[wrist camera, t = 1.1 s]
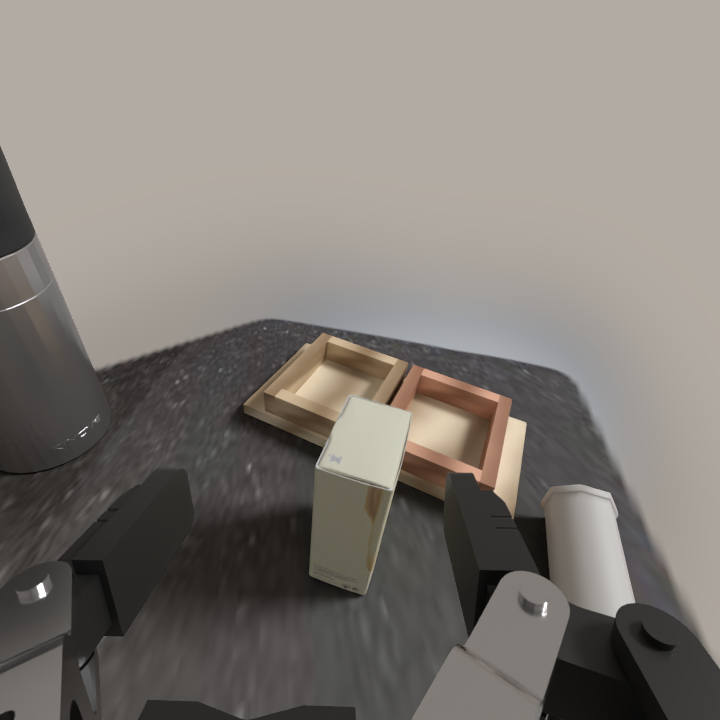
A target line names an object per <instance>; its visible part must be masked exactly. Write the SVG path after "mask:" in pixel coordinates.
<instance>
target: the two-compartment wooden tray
mask: <svg viewBox="0 0 720 720" xmlns="http://www.w3.org/2000/svg"><path fill="white" fill-rule="evenodd" d="M407 366H408V363H407V362H404V361H401V360H399V359H396V358H393V357H390V356H387V355H384V354H381V353H379V352H376V351H373V350H370V349H367V348H364V347H361V346H359V345H356V344H353V343H350V342H347V341H344V340H341V339H339V338H336V337H333V336H330V335H327V334H324V333H322V334H321V335H320V336H319V337H318V338H317V339H316V340H315V341H314V342H313V343H312V344H308V343H306V344H305V345H304V346H303V347H302V348H301V349H300V350H299V351H298V352H297V353H296V354H295V355H294V356H293V357H292V358H291V359H290V360H288V361H287V362H286V363H285V364H284V365H283V366H282V367H281V368H280V369H279V370H278V371H277V372H276V373H275V374H274V375H273V376H272V377H271V378H270V379H269V380H268V381H267V382H266V383H265V384H264V385H263V386H262V387H261V388H260V389H259V390H258V391H256V392H255V393H254V394H253V395H252V396H251V397H250V398H249V399H248V400H247V401H246V402H245V403H244V404H243V405H244V413H246V414H248V415H251V416H253V417H255V418H257V419H260V420H262V421H264V422H266V423H269V424H271V425H273V426H276V427H278V428H280V429H282V430H285V431H287V432H289V433H291V434H294V435H296V436H298V437H300V438H303V439H305V440H307V441H310V442H312V443H314V444H316V445H319V446H321V447H323V448H324V446H325V444H326V442H327V440H328V438H329V435H330V433H331V431H332V429H333V427H334V425H335V422H336V420H337V418H338V416H339V414H340V412H341V410H342V408H343V406H344V404H345V402H346V400H347V398H348V396H350V395H355V396H359V397H362V398H365V399H369V400H372V401H376V402H379V403H382V404H386V405H389V406H392V407H396V408H399V409H402V410H406V411H409V412H412V420H411V425H410V430H409V435H408V440H407V445H406V449H405V454H404V458H403V462H402V466H401V469H400V473H399V476H398V481H400V482H403V483H405V484H407V485H409V486H412V487H414V488H416V489H418V490H421V491H423V492H425V493H427V494H430V495H432V496H434V497H437V498H439V499H441V500H443V501H444V500H445V485H446V475H447V473H448V472H454V473H473V474H474V476H475V478H476V481H477V483H478V486H479V488H480V490H492V491H493V492H494V493H495V494H497V495H498V496H499V497H500V498H501V499H502V500H503V501H504V502H505V503H506V505H507V507H508V509H509V511H510V513H511V515H512V519H514V513H515V506H516V498H517V491H518V483H519V476H520V469H521V461H522V454H523V446H524V439H525V431H526V424H527V423H525V422H522V421H520V420H517V419H514V418H511V417H509V413H510V407H511V402H512V399H510V398H507V397H504V396H501V395H498V394H495V393H493V392H490V391H487V390H484V389H481V388H478V387H475V386H473V385H470V384H467V383H464V382H461V381H458V380H456V379H453V378H450V377H447V376H444V375H441V374H438V373H436V372H433V371H430V370H427V369H424V368H421V367H418V366H416V365H413V367H412V368H411V370H410V372H409V374H408V376H407V377H406V379H405V375H406V371H407Z"/></svg>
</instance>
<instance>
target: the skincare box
mask: <svg viewBox="0 0 720 720" xmlns="http://www.w3.org/2000/svg"><path fill="white" fill-rule="evenodd" d="M411 420H412V412H409V411H406V410H402V409H399V408H396V407H392V406H389V405H386V404H382V403H379V402H376V401H372V400H369V399H365V398H362V397H359V396H355V395H350V396H348V398H347V400H346V402H345V404H344V406H343V408H342V410H341V412H340V414H339V416H338V418H337V420H336V422H335V425H334V427H333V429H332V431H331V433H330V435H329V438H328V440H327V442H326V444H325V446H324V448H323V451H322V453H321V455H320V457H319V459H318V461H317V463H316V466H315V478H314V495H313V513H312V531H311V549H310V565H309V575H310V576H312V577H314V578H317V579H319V580H322V581H324V582H327V583H329V584H332V585H335V586H337V587H340V588H343V589H345V590H348V591H352V592H355V593H358V594H361V595H365V594H366V592H367V589H368V586H369V582H370V579H371V576H372V572H373V569H374V565H375V561H376V558H377V554H378V550H379V546H380V543H381V539H382V535H383V531H384V528H385V524H386V520H387V517H388V513H389V509H390V505H391V502H392V498H393V494H394V491H395V487H396V484H397V480H398V476H399V473H400V469H401V466H402V462H403V458H404V454H405V449H406V445H407V440H408V435H409V430H410V425H411Z"/></svg>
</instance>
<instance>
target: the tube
mask: <svg viewBox="0 0 720 720" xmlns="http://www.w3.org/2000/svg"><path fill="white" fill-rule="evenodd" d="M541 507H542V509H543V511H544V513H545V522H546V535H547V548H548V561H549V574H550V582H552V583H553V584H554V585H555V586H557V587H558V588H559V589H560V591H561V592H562V593H563V594H564V596H565V597H566V599H567V601H568V602H570V603H572V604H574V605H576V606H579V607H581V608H584V609H588V610H591V611H594V612H598V613H601V614H604V615H608V616H611V617H614V618H615V616H616V613H617V611H618V609H619V608H620V607H621V606H623V605H625V604H630V603H635V600H634V596H633V591H632V587H631V583H630V579H629V574H628V570H627V566H626V561H625V557H624V553H623V548H622V544H621V540H620V536H619V531H618V527H617V523H616V518H617V517H618V512H617V509H616V506H615V504H614V501H613V499H612V496H611V494H610V493H609V492H605V491H602V490H598V489H595V488H591V487H588V486H584V485H581V484H578V485H567V486H556V487H551V488H550V489H549V491H548V492H547V493H546V495H545V496H544V498H543V499H542V501H541Z"/></svg>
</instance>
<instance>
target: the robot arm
mask: <svg viewBox="0 0 720 720" xmlns="http://www.w3.org/2000/svg"><path fill="white" fill-rule="evenodd" d="M111 418H112V416H111V409H110V407H109V405H108V402H107V400H106V397H105V395H104V393H103V390H102V388H101V386H100V383H99V381H98V378H97V376H96V373H95V371H94V368H93V366H92V364H91V362H90V359H89V357H88V354H87V352H86V350H85V347H84V345H83V343H82V340H81V338H80V335H79V333H78V331H77V328H76V326H75V324H74V321H73V319H72V316H71V314H70V312H69V309H68V307H67V305H66V302H65V300H64V297H63V295H62V293H61V290H60V288H59V286H58V283H57V281H56V279H55V276H54V274H53V271H52V270H51V267H50V265H49V263H48V260H47V258H46V255H45V253H44V251H43V248H42V246H41V244H40V241H39V239H38V237H37V234H36V232H35V230H34V228H33V225H32V222H31V220H30V218H29V216H28V214H27V211H26V209H25V206H24V204H23V201H22V199H21V196H20V194H19V191H18V189H17V186H16V183H15V181H14V179H13V176H12V174H11V171H10V169H9V166H8V164H7V161H6V159H5V156H4V154H3V152H2V149H1V147H0V470H2V471H6V472H11V473H29V472H37V471H41V470H46V469H50V468H53V467H56V466H58V465H61V464H64V463H66V462H68V461H70V460H72V459H74V458H76V457H78V456H80V455H81V454H83V453H84V452H86V451H87V450H89V449H90V448H91V447H92V446H93V445H95V444H96V443H97V442H98V441H99V440H100V439H101V438H102V436H103V435H104V434H105V433H106V431H107V429H108V427H109V425H110V422H111ZM193 516H194V511H193V504H192V499H191V493H190V487H189V481H188V476H187V472H186V471H185V470H184V469H173V468H158V469H156V470H155V471H154V472H153V473H152V474H151V475H150V476H149V477H148V478H147V479H146V480H145V481H144V483H143V484H142V485H137V486H135V487H134V488H132V489H131V490H129V491H127V492H126V493H124V494H123V495H121V496H120V497H119V498H118V499H117V500H116V501H115V502H114V503H113V504H112V505H111V506H110V507H109V508H108V511H105V512H104V513H103V514H102V515H101V516H100V517H99V518H98V519H97V522H94V523H93V524H92V525H91V526H90V527H89V528H88V529H87V530H86V532H85V533H84V534H83V535H82V536H81V537H80V538H79V539H78V540H77V541H76V542H75V543H74V544H73V545H72V546H71V547H70V548H69V549H68V550H67V551H66V552H65V553H64V554H63V555H62V556H61V557H60V558H59V559H58V560H57V561H52V562H46V563H42V564H39V565H36V566H34V567H31V568H29V569H27V570H25V571H23V572H22V573H20V574H18V575H17V576H15V577H14V578H12V579H11V580H10V581H8V582H7V583H6V584H5V585H4V586H3V587H2V588H1V589H0V720H102V715H101V695H100V676H99V657H98V652H97V648H96V647H97V645H98V644H99V642H100V641H101V639H102V638H103V636H124V635H125V633H126V632H127V630H128V629H129V627H130V625H131V624H132V622H133V621H134V619H135V617H136V616H137V614H138V613H139V611H140V609H141V608H142V606H143V605H144V603H145V601H146V600H147V598H148V597H149V595H150V593H151V592H152V590H153V589H154V587H155V586H156V584H157V582H158V581H159V579H160V578H161V576H162V574H163V573H164V571H165V570H166V568H167V566H168V565H169V563H170V562H171V560H172V558H173V557H174V555H175V554H176V552H177V550H178V549H179V547H180V546H181V544H182V542H183V541H184V539H185V538H186V536H187V534H188V533H189V531H190V529H191V526H192V522H193ZM443 520H444V533H445V539H446V543H447V547H448V551H449V556H450V560H451V564H452V569H453V573H454V577H455V582H456V586H457V590H458V594H459V599H460V603H461V607H462V612H463V616H464V620H465V624H466V629H467V633H468V637H469V639H468V641H467V642H466V644H465V645H464V646H463V647H462V646H461V645H459V644H458V645H456V646H455V647H454V648H453V649H452V651H451V652H450V654H449V655H448V657H447V659H446V660H445V662H444V664H443V666H442V667H441V669H440V671H439V673H438V674H437V676H436V678H435V679H434V681H433V683H432V685H431V686H430V688H429V690H428V692H427V693H426V695H425V697H424V699H423V700H422V702H421V704H420V706H419V707H418V709H417V711H416V713H415V714H414V716H413V718H412V720H547V717H548V715H551V716H553V717H556V718H558V719H561V720H720V669H719V667H718V666H717V665H716V663H715V662H714V661H713V659H712V658H711V657H710V655H709V654H708V653H707V651H706V650H705V648H704V647H703V646H702V644H701V643H700V642H699V640H698V639H697V638H696V637H695V635H694V634H693V633H692V632H691V631H690V630H689V629H688V628H687V627H686V626H685V625H683V624H682V623H681V622H680V621H678V620H677V619H676V618H674V617H673V616H671V615H669V614H668V613H666V612H664V611H662V610H660V609H657V608H655V607H652V606H649V605H645V604H639V603H630V604H625V605H623V606H621V607H620V608H619V609H618V611H617V613H616V616H615V618H614V617H611V616H608V615H604V614H601V613H598V612H594V611H591V610H588V609H584V608H581V607H579V606H576V605H574V604H572V603H570V602H568V601H567V599H566V597H565V596H564V594H563V593H562V592H561V591H560V589H559V588H558V587H557V586H555V585H554V584H553V583H552V582H550V581H549V580H548V579H546V578H544V577H542V576H541V575H540V573H539V571H538V569H537V567H536V564H535V562H534V560H533V558H532V556H531V554H530V552H529V550H528V548H527V546H526V544H525V542H524V540H523V538H522V536H521V534H520V532H519V531H518V529H517V526H516V524H515V521H514V519H512V515H511V513H510V511H509V509H508V507H507V505H506V503H505V502H504V501H503V500H502V499H501V498H500V497H499V496H498V495H497V494H495V493H494V492H493V491H492V490H480V488H479V486H478V483H477V481H476V478H475V476H474V474H473V473H454V472H448V473H447V475H446V485H445V500H444V516H443ZM138 720H244V719H240V718H238V717H235V716H233V715H230V714H228V713H225V712H223V711H220V710H217V709H215V708H212V707H210V706H207V705H205V704H202V703H200V702H192V701H164V700H147V702H146V704H145V707H144V709H143V711H142V713H141V715H140V717H139V719H138ZM250 720H356V714H355V707H333V706H305V705H303V706H300V707H296V708H292V709H288V710H285V711H281V712H277V713H273V714H269V715H266V716H262V717H258V718H254V719H250Z"/></svg>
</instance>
